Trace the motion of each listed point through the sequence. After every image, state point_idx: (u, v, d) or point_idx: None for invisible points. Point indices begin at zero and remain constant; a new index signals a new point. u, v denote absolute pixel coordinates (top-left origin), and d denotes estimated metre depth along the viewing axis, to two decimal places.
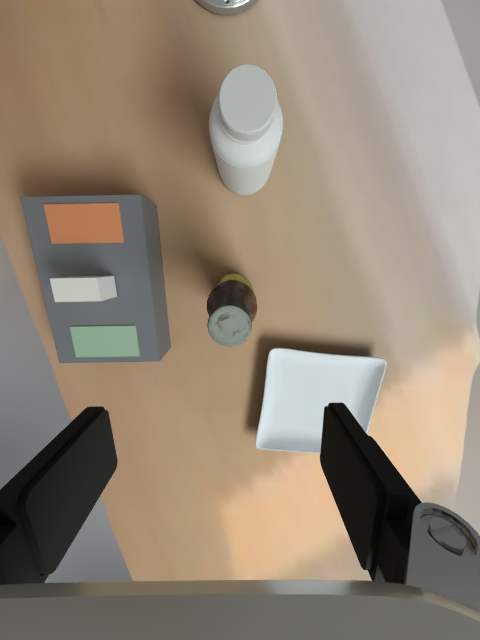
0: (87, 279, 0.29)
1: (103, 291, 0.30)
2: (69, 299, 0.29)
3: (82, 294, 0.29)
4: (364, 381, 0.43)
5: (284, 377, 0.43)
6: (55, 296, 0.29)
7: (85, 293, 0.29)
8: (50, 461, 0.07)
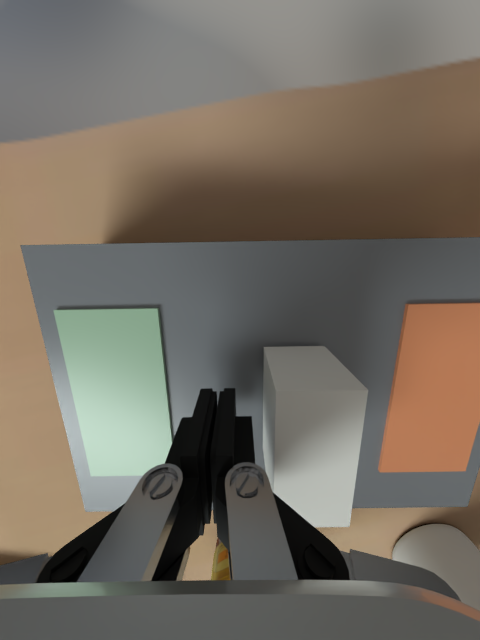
0: (347, 502, 0.09)
1: None
2: (282, 441, 0.08)
3: (297, 480, 0.08)
4: None
5: None
6: (298, 397, 0.07)
7: (302, 491, 0.08)
8: (203, 429, 0.08)
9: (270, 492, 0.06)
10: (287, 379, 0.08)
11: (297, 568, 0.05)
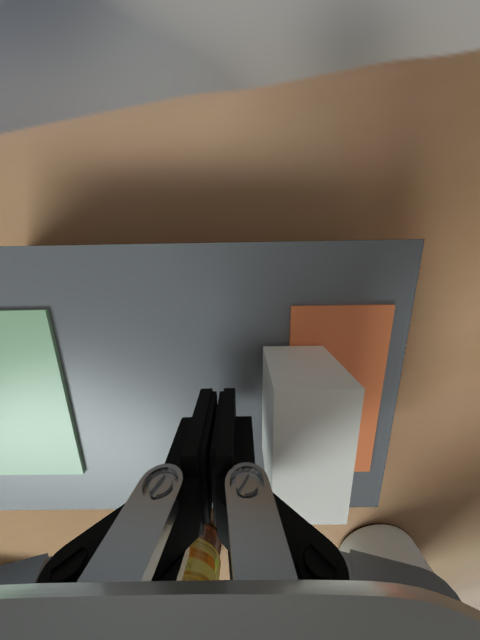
0: (344, 500, 0.09)
1: None
2: (280, 438, 0.08)
3: (295, 478, 0.08)
4: None
5: None
6: (295, 396, 0.08)
7: (300, 488, 0.09)
8: (203, 429, 0.08)
9: (270, 492, 0.06)
10: (285, 378, 0.08)
11: (297, 568, 0.05)
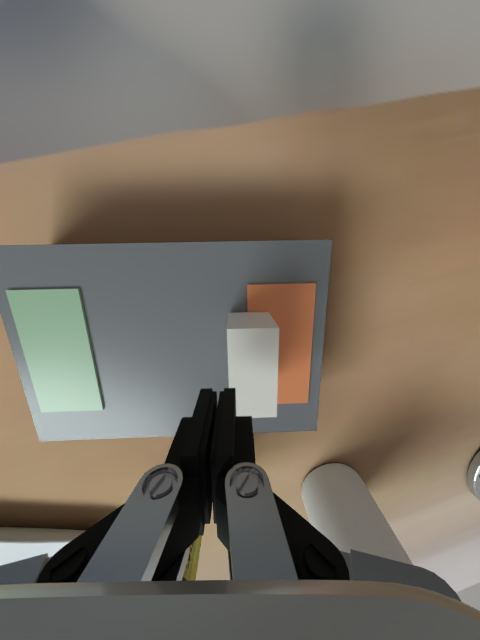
0: (274, 400, 0.14)
1: None
2: (232, 360, 0.13)
3: (242, 386, 0.14)
4: None
5: (65, 543, 0.30)
6: (239, 332, 0.13)
7: (246, 393, 0.14)
8: (203, 429, 0.08)
9: (270, 492, 0.06)
10: (235, 325, 0.14)
11: (297, 568, 0.05)
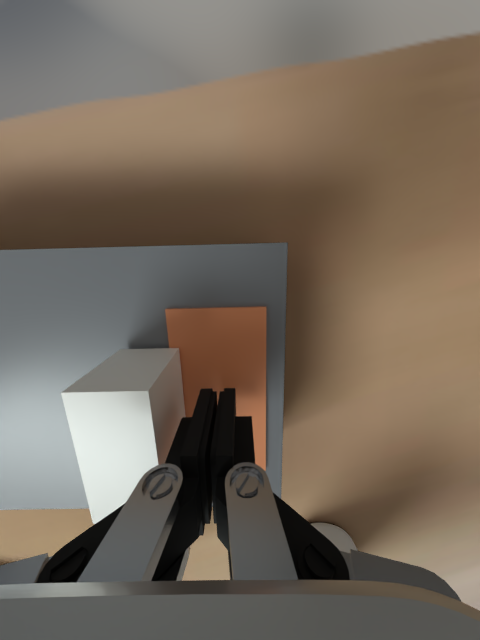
0: None
1: None
2: (80, 440, 0.08)
3: (104, 478, 0.09)
4: None
5: None
6: (83, 398, 0.08)
7: (112, 488, 0.09)
8: (203, 429, 0.08)
9: (270, 492, 0.06)
10: (90, 381, 0.09)
11: (297, 568, 0.05)
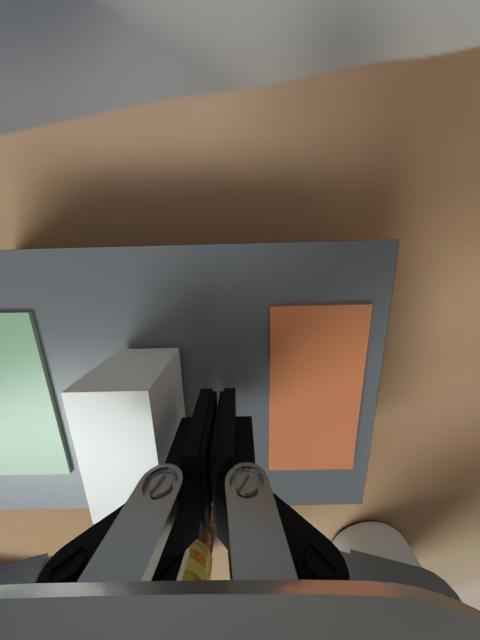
0: None
1: None
2: (79, 440, 0.08)
3: (104, 478, 0.09)
4: None
5: None
6: (82, 398, 0.08)
7: (112, 488, 0.09)
8: (203, 429, 0.08)
9: (270, 492, 0.06)
10: (90, 381, 0.09)
11: (297, 568, 0.05)
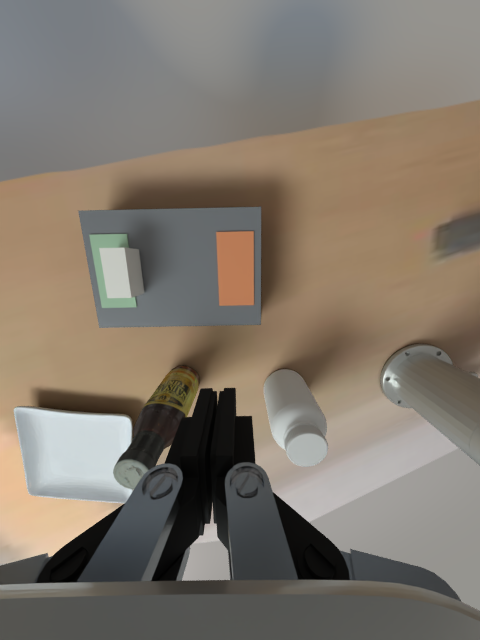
0: (128, 287, 0.28)
1: None
2: (104, 265, 0.28)
3: (111, 279, 0.28)
4: (109, 485, 0.48)
5: (103, 424, 0.44)
6: (105, 250, 0.27)
7: (113, 283, 0.28)
8: (203, 429, 0.08)
9: (270, 492, 0.06)
10: None
11: (297, 568, 0.05)
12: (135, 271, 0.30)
